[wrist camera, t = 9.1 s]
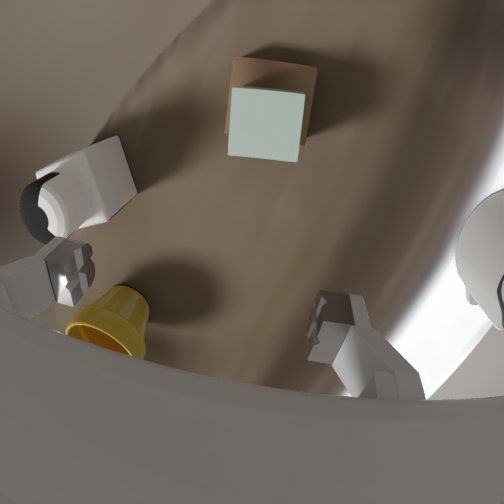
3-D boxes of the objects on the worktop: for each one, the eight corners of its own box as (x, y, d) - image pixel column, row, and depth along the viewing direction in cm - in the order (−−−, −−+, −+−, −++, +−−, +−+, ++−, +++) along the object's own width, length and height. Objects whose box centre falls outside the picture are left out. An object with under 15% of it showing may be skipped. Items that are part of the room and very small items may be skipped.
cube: (301, 91, 24) (305, 94, 20) (295, 147, 26) (297, 162, 22) (241, 86, 24) (232, 87, 20) (237, 141, 27) (227, 155, 22)
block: (314, 68, 25) (317, 67, 22) (303, 139, 29) (304, 145, 26) (238, 58, 25) (233, 56, 23) (230, 128, 29) (224, 133, 26)
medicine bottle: (91, 206, 35) (32, 259, 25) (71, 153, 31) (1, 191, 21) (139, 194, 33) (82, 249, 23) (119, 134, 30) (49, 168, 20)
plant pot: (111, 328, 46) (85, 375, 37) (87, 274, 40) (51, 319, 32) (170, 332, 44) (149, 385, 36) (149, 273, 39) (118, 325, 31)
